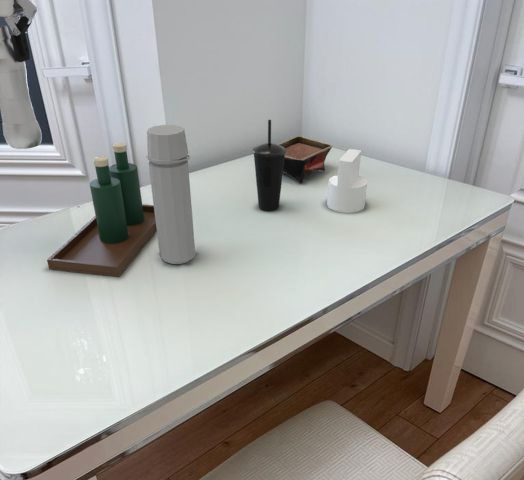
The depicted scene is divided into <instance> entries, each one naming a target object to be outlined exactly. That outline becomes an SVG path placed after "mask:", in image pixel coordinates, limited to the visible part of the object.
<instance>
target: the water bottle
mask: <svg viewBox="0 0 524 480" xmlns="http://www.w3.org/2000/svg"><path fill="white" fill-rule="evenodd" d="M146 145H147V155H146V160H148V161H149V162H148V163H147V164H148V171H149V180H150V188H151V194H152V196H151V197H152V202H153V204H152V205H154V212H155V220H156V228H157V232H156V234H157V235H156V237H157V243H158V250H159V257H160V258H161V259H162V261H164V263H168V264H171V265H180V264H185V263H189V262H190V261H192V260H193V259H194V258H195V256H196V245H195V244H196V243H195V242H196V241H195V234H194V233H195V231H194V219H193V206H192V194H191V193H192V192H191V184H190V183H191V182H190V169H189V160H191V155H189V148H188V142H187V137H186V131H185V128H184V127H183V126H181V125H176V124H160V125H154V126H151V127H149V128H148V129H147V130H146Z"/></svg>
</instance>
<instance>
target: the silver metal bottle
mask: <svg viewBox="0 0 524 480" xmlns="http://www.w3.org/2000/svg"><path fill="white" fill-rule="evenodd" d="M11 36H12V35H11V34H10V30H9V26H8V25H5V24H4V25H3V24H0V116H1V121H2V132H3V133H2V134H3V138H4V140H5V141H6V144H7V145H8V146H9V147H10V148H12V149H15V150H27V149H32V148H33V149H34V148H35V147H38V146H40V145H41V143H42V140H43V135H42V134H43V133H42V130H41V127H40V124H39V122H38V120H37V117H36V114H35V110H34V107H33V104H32V101H31V96H30V94H29V93H30V90H29V86H28V77H27V68H26V67H27V66H26V61H24V62H18V61H17V60H16V57H15V53H14V49H13V45H12V41H11Z"/></svg>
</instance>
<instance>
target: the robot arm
mask: <svg viewBox="0 0 524 480" xmlns="http://www.w3.org/2000/svg"><path fill="white" fill-rule="evenodd" d="M37 12H38V7H37V6H36V5H35V4H34V3H33V2H32V1H31V0H0V18H1V17H2V18H3V19H4V21H5V22H6V24H7V26H8V28H9V29H10V30H11V32H12V34H13V35H10V36H11V38H10V41H11V43H12V45H13V49H14V53H15V57H16V60H17V61H18V62H24V61H25V62H27V61H29V60H30V57H31V56H30V48H29V44H28V39H27V35H26V34H27V33H28V32H29V28H30V26H31V25H32V23H33V19H34V18H35V16H36V14H37ZM21 14H22V15H21Z"/></svg>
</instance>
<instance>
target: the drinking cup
mask: <svg viewBox="0 0 524 480" xmlns="http://www.w3.org/2000/svg"><path fill="white" fill-rule="evenodd" d="M278 144H279V143H275V142H274V143H272V119H268V120H267V142H266V143H261V144H259V145H256V146H254V147H252V150H251V151H252V154H253V162H254V169H255V181H256V193H257V204H258V209H259V210H261V211H264V212H274V211H277V210H279V208H280V202H281V201H280V199H281V191H282V183H283V174H284V172H283V166H284V157H285V154H286V148H284V147H282V146H280V145H278Z"/></svg>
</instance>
